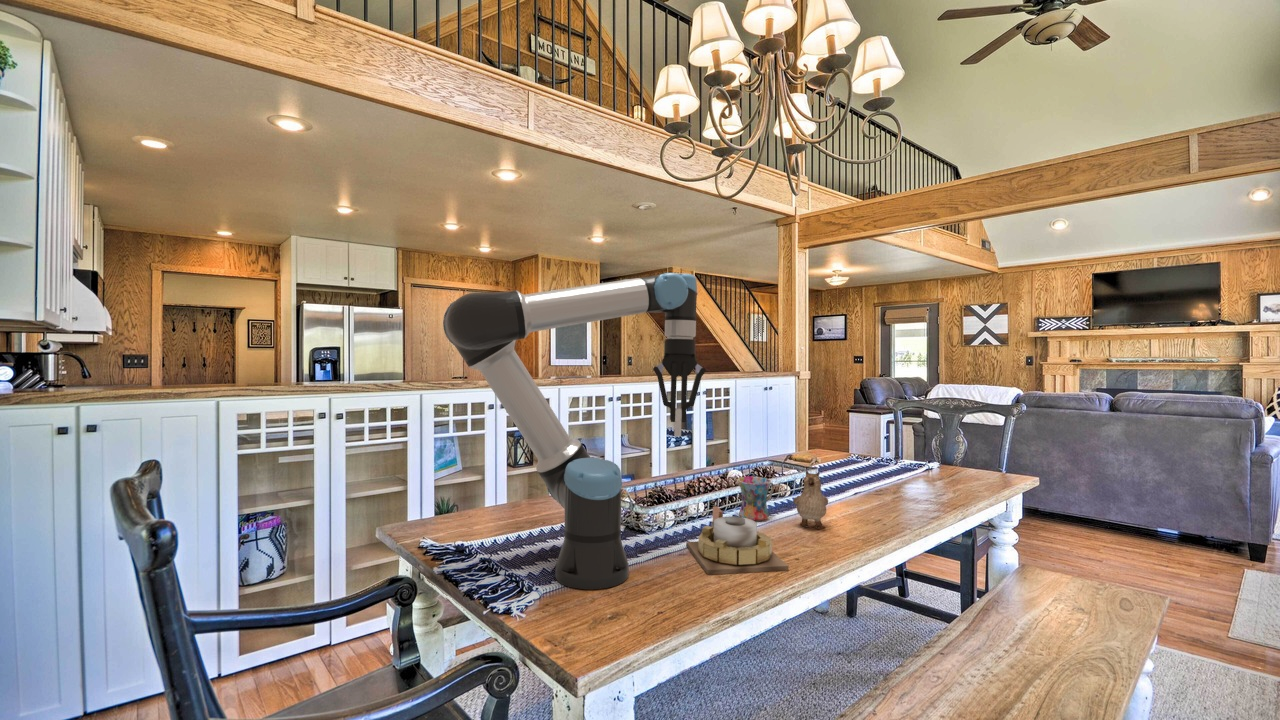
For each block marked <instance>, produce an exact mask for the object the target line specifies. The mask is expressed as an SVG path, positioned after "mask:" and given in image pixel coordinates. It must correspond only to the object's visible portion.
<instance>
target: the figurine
mask: <svg viewBox="0 0 1280 720" xmlns="http://www.w3.org/2000/svg"><path fill="white" fill-rule="evenodd" d="M792 504H793V505H796V511H797V514H798V515H799V516H800V517H801V522H800V523H799V525H798V526H803V528H807V527H810V524H809V523H808V520H813V521H814V525H812V528H815V529H818V530H821V529H825V528H826V527H825V526H824V525H823V523H822V518H824V517H825V515H826V514H827V505H828V504H829V499H828V497H827V496H824V495H823V493H822V482H821V478H820V472H816V473H810V472H809V471H808V470H806V471H805V477H804V478H803V490H802V493H801V494H800V495H798V496H795V497H794V498H793V500H792Z"/></svg>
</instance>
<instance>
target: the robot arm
mask: <svg viewBox="0 0 1280 720" xmlns="http://www.w3.org/2000/svg"><path fill="white" fill-rule="evenodd" d="M697 296H698V283H697V278H696V276H695V275H694V274H693V273H685V272H684V273H676V272H664V273H661V274H658V275H651V276H644V277H636V278H629V279H628V278H627V279H622V280H615V281H610V282H609V281H608V282H601V283H595V284H594V283H593V284H586V285H581V286H574V287H567V288H566V287H565V288H561V289H554V290H545V291H540V292H539V291H538V292H534V293H526V294H523V293H521V292H520V291H519V290H511V291H497V292H471V293H466V294H464V295H461V296H460V297H459V298H456V299H455V300H454V301H453V302H451V303H450V304H449V305H448V306H447V308H446V310H445V312H444V314H443V319H442V324H443V325H442V326H443V332H444V334H445V336H446V338H447V340H448V341H449V342H450V343H451V344H452V345H453V347H455V348H456V350H457V351H458V353H459V354H460V356H461V358H462V359H463V361H464V362H465V364H466V365H467V367H468V368H469V369H472V370H477V371H478V372H480V373H481V375H482V376H483V378H484V379H485V381H486V383H488V385H489V387H490V388H491V391H492V392H493V393H494V394H495V395H494V396H496V398H497V399H498V400H499V402H500V404H501V405H502V407H503V409H504V410H505V412H506V413H507V415H508V416H509V417H510V419H511V421H512V422H513V424H514V425H515V426H516V428H517V430H518V431H519V433H520V434H521V436H522V438H523V439H524V441H525V442H526V444H527V446H528V447H529V448H530V449H531V452H532V453H533V454H534V456H535V458H536V459H537V463H536V468H535V471H537V473H538V475H539V476H540V478H541V479H542V481H543V482H544V484H545V486H546V488H547V491H548V493H549V495H550V496H551V497H552V499H554V501H556V502H558V504H559V505H560V506H561V507H562V508H563V509H564V538H563V542H562V545H561V548H560V551H559V554H558V557H557V560H556V562H555V580H557V582H558V583H559V584H561V585H564V586H566V587H570V588H573V589H578V590H579V589H580V590H601V589H608V588H609V589H610V588H611V587H616V586H618V585H621V584H623V583H624V582H625V581H626V580H627V579H629V566H630V565H629V562H628V558H627V555H626V551H625V548H624V546H623V541H622V539H621V536H622V535H621V527H622V525H621V523H622V487H623V479H622V471H621V468H620V467H619V465H618V464H617V463H615V462H613V461H611V460H609V459H603V458H600V457H591V455H590V454H589V453H588V451H587V450H586V448H585V447H584V445H583V444H582V442H581V440H579V439H574V438H571V437H570V436H569V434H568V432H567V431H566V429H565V427H564V426H563V425H562V423H561V421H560V419H559V418H558V417H557V415H556V414H555V412H554V410H553V409H552V407H551V406H550V404H549V402H548V401H547V399H546V397H545V396H544V394H543V393H542V391H541V389H540V388H539V387H538V385H537V383H536V382H535V381H534V378H533V376H532V375H531V374H530V373H529V371H528V369H527V368H526V366H525V364H524V363H523V361H522V360H521V358H520V357H519V355H518V353H517V352H516V349H515V346H516V341H518V340H519V341H520V340H523V339H527V337H528V336H529V334H530V333H534V332H540V331H546V330H551V329H552V330H553V329H557V328H563V327H569V326H575V325H581V324H586V323H587V324H588V323H592V322H599V321H603V320H604V321H605V320H611V319H616V318H621V317H622V318H623V317H627V316H633V315H639V314H645V313H646V314H647V313H659V314H664V337H666V338H665V340H664V341H663V343H664V346H663V347H664V349H663V358H662V360H661V363H659V364H658V365H655V366H653V367H652V369H653V372H654V373H655V375H656V377H657V382H658V387H659V391H660V395H661V398H662V403H663V406H664V407H667V408H669V409H670V410H669V411H670V412H669V413H670V414H669V420H670V422H671V423H674V428H673V429H674V433H673V435H674V437H682V423H686V421H687V410H688V408H691V407H694V405H695V403H696V398H697V395H698V392H699V388H700V384H701V380H702V376H704V374H705V373H706V370H707V369H706V368H705V367H702V366H701V365H700V364H698V360H697V358H696V340H695V339H694V338H695V337H696V336H697V331H696V330H697V300H698V299H697V298H698V297H697ZM664 369H665V370H666V372H667V373H668V375H669V376H670V397H669V398H670V400H669V401H668V395H667V391H666V385H665V381H664V378H663V377H664V376H663V374H662V373H664ZM694 369H695V371H694V373H695V377H694V380H693V385H692V389H691V391H690V395H689V399H688V397H687V396H688V376H690V374H691V373H692V372H693V370H694ZM678 377H680V378H681V382H680V383H681V384H680V385H681V386H680V387H681V389H680V392H681V393H680V407H677V379H678ZM687 399H688V400H687Z"/></svg>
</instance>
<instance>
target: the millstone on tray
mask: <svg viewBox="0 0 1280 720" xmlns="http://www.w3.org/2000/svg"><path fill="white" fill-rule="evenodd" d="M721 517H724V511H722V510H721V509H720V508H719V507H718V506H712V522H710V525H704V526H703V527H702V528H701V530H702V532H701V533H700V535H698V541H699V546H698V550H699V552H700V553H701V554H702V555H703V556H704V557H706V558H708V559H711V560H714V561H716V562H718V561H719V562H721V563H728V564H735V565H737V563H738V565H744V564H756V563H757V564H758V563H760V562H763V561H766V560H768V559H770V556H771V554H772V552H773V546H772V545H773V539H772V538H770V537H769V536H768V535H767V534H764V533H763V532H759V531H757V542H756V546H753V547H740V548H736V547H728V546H727V541H724V540H720V539H718V540H717V541H715V543H714V520H715V519H717V518H721Z"/></svg>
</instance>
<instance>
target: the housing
mask: <svg viewBox="0 0 1280 720" xmlns="http://www.w3.org/2000/svg"><path fill="white" fill-rule="evenodd" d="M757 529H758V523H757V522H756V520H751V519H747V518H742V517H741V516H723V517H721V518H717V519H715V520H714V543H715V541H717V540H718V539H720V540H724V541H727V546H728V547H736V548H740V547H753V546H756V542H757V532H758V530H757ZM685 543H686V544H685V545H686V548H687V549H688V551H689V552H690V553H691V555H692V556H693V557H694V559H695V560H696V562H697V563H698V564H699V565H700V566H701V568H702V570H704V572H705V573H706V575H707V576H709V575H713V576H714V575H726V574H727V575H729V574H730V575H731V574H745V573H746V574H747V573H765V572H766V573H767V572H781V571H782V572H784V571H785V572H786V571H789V565H788V564H787V563H786V562H785V561H784V559H781V558H780V557H779V556H778V555H777V554H776V553H774V552H773V551H772V554H771V556H770V559H768V560H766V561H763V562H760V563H758V564H757V563H756V564H744V565H738V563H737V565H735V564H728V563H721V562H719V561H718V562H716V561H714V560H711V559H708V558H706V557H704V556H703V555H702V554H701V553H700V552H699V550H698V546H699V540H698V541H686V542H685Z"/></svg>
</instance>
